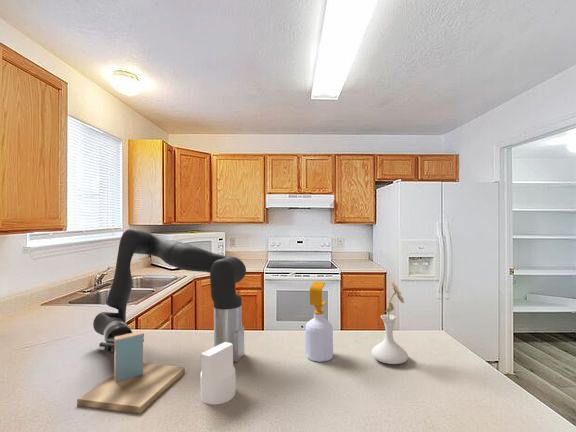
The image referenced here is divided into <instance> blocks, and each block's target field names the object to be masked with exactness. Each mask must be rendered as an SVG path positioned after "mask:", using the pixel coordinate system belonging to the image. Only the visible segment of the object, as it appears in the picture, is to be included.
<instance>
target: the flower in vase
mask: <svg viewBox="0 0 576 432" xmlns="http://www.w3.org/2000/svg"><path fill="white" fill-rule="evenodd" d="M390 285H391V287H392V290H393V293H392V295H391V297H390V299H389V301H388V302H389V303H388V308H387V309H386V310H384V312H386V313H387V314H382V315H380V318H381V320H382V321H383V325H384V330H385V335H384V339H383V340H382V341H381V342H379V343H378V344H376V345H375V346H374V347H373V348H372V349H371V355H372V357H373V358H374V359H375V360H377V361H378V362H381V363H384V364H388V365H398V364H399V365H400V364H404V363H405V362H407V361H408V360H409V354H408V352H407V351H406V350H405V349H404V348H403V347H402V346H401V345H399V344H398V343H397V342H396V341H395V339H394V335H393V332H394V331H393V330H394V325H395V322H396V320H397V319H398V317H397V316H396V315H393V314H390V313H391V312H392V311H394V310H395V307H394V304H393V303H392V299H393V297H394V296H396V297H397V299H398V300H399V302H400V303H402V304H404V303H405V299H404V297H403V296H402V293H401V291H399V288H398V285H397V284H395V282H394V281H393V280H391V281H390Z"/></svg>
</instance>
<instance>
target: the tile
mask: <svg viewBox="0 0 576 432" xmlns="http://www.w3.org/2000/svg"><path fill="white" fill-rule="evenodd" d="M143 334H144V333H143V331H142V330H140V331H135V332H132V333H130V334H125V335H121V336H116V337H114V353H113V354H114V356H113V357H114V360H113V363H114V364H113V365H114V366H113V369H114V370H113V372H114V374H113V375H114V380H115V382H118V381H122V380H125V379H128V378H132V377H135V376H138V375H142V374H143V363H144V342H143Z"/></svg>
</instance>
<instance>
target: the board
mask: <svg viewBox="0 0 576 432" xmlns="http://www.w3.org/2000/svg"><path fill="white" fill-rule="evenodd" d="M185 373H186V367H185V366H177V365H164V364H154V363H153V364H152V363H144V362H143V374H142V375H138V376H135V377H132V378H128V379H125V380H122V381H118V382H115V380H114V374H113V375H111V376H110V377H108V378H107V379H106V380H104V381H103V382H101V383H100V384H99V383H98V385H96V386H95V387H93V388H92V389H90V390H88V391H87V392H86V393H84V394H83V395H81V396H79V397H78V398H77V399H76V400H77V401H76V405H77V406H80V407H85V408H94V409H102V410H111V411H116V412H124V413H125V412H126V413H134V414H141V413H143V411H145V410H146V409H147V408H148V407H149V406H150V405H151V404H152V403H153V402H155V401H156V399H158V398H159V397H160V396H161V395H162V394H163V393H164V392H165V391H166V390H167V389H169V388H170V387H171V386H172V385H173V384H174V383H176V382H177V380H178V379H180V378H181V377H182V376H183V375H184V374H185Z"/></svg>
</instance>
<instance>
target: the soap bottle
mask: <svg viewBox="0 0 576 432" xmlns="http://www.w3.org/2000/svg"><path fill="white" fill-rule="evenodd" d="M325 285H326V282H324V281H313V282H312V284H311V285H310V287H309V305H312V306H314V308H316V309H315V310H313V318H312V319H310V320H308V322H307V323H306V325H305V356H306V357H307V359H308V360H310V361H313V362H318V363H319V362H321V363H323V362H327V361H328V362H329V361H330V360H332V359H333V357H334V339H333V338H334V334H333V332H334V329H333V325H332V322H330V321H329V320H328V319H326V318H325V316H324V315H325V314H324V313H325V312H324V310H322V308H323V306H325V305H326V303H327V302H326V301H323V288H324V287H325Z"/></svg>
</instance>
